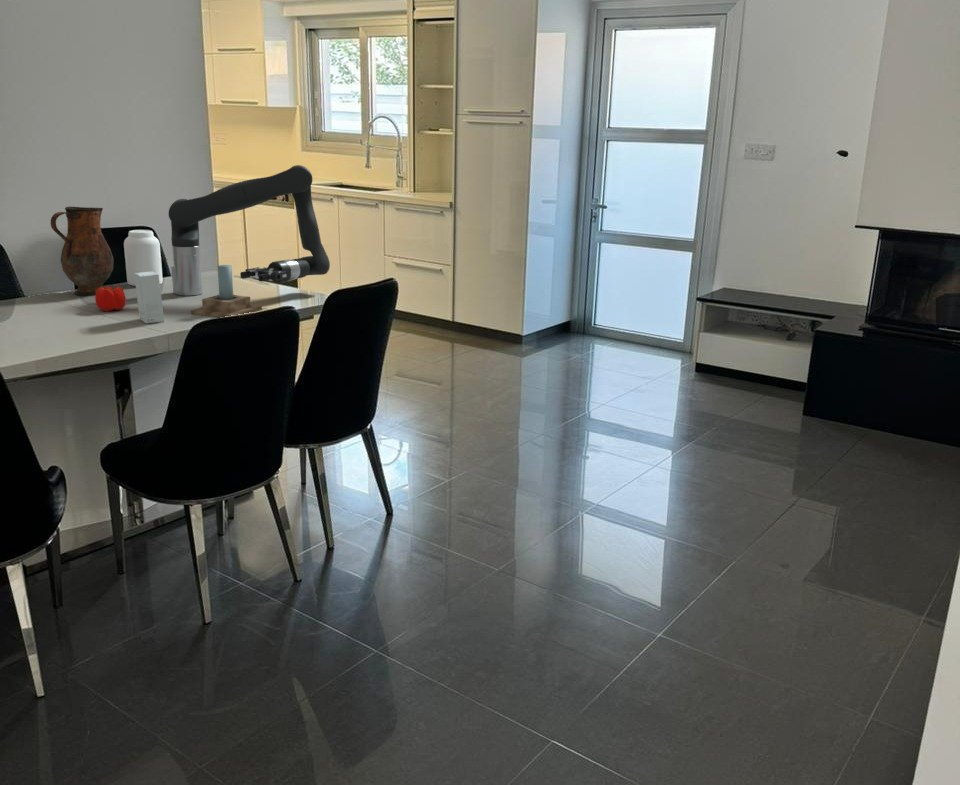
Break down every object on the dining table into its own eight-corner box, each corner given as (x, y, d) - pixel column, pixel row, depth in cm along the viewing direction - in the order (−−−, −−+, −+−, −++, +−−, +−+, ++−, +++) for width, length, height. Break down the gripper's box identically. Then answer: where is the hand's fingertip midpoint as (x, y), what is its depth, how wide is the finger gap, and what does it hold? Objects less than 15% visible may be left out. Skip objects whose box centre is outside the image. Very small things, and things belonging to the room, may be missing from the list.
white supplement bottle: (141, 288, 315) (136, 233, 309) (120, 284, 322) (115, 230, 315) (169, 283, 325) (165, 230, 319) (149, 279, 332) (144, 227, 326)
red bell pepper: (90, 311, 277) (88, 288, 274) (111, 306, 285) (109, 283, 282) (113, 314, 273) (111, 291, 271) (133, 309, 281) (131, 286, 279)
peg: (217, 308, 281) (214, 266, 277) (225, 306, 285) (223, 264, 281) (228, 310, 279) (225, 267, 275) (236, 307, 283) (234, 265, 279)
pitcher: (127, 291, 308) (119, 207, 299) (78, 301, 289) (68, 211, 280) (93, 286, 314) (84, 203, 305) (43, 296, 296) (32, 208, 287)
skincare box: (164, 322, 265) (160, 274, 260) (144, 324, 262) (139, 275, 257) (157, 316, 272) (153, 270, 267) (137, 318, 268) (133, 271, 264)
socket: (191, 313, 278) (190, 299, 276) (222, 304, 292) (221, 291, 291) (232, 318, 272) (231, 304, 271) (261, 309, 287) (261, 296, 285)
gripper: (268, 258, 304) (234, 263, 290) (298, 262, 297) (265, 268, 284) (269, 279, 306) (235, 285, 293) (299, 283, 299) (266, 290, 286)
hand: (250, 277), depth 288 cm, fingers open, 8 cm apart
